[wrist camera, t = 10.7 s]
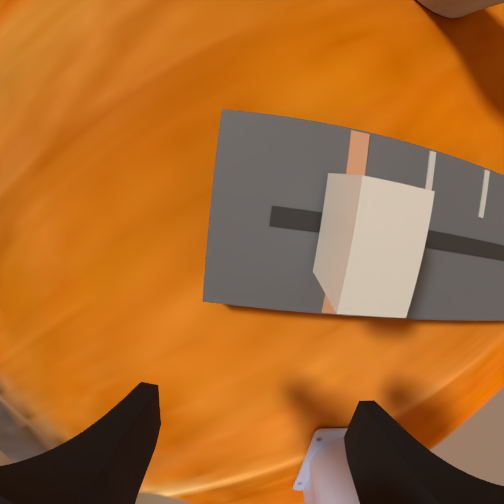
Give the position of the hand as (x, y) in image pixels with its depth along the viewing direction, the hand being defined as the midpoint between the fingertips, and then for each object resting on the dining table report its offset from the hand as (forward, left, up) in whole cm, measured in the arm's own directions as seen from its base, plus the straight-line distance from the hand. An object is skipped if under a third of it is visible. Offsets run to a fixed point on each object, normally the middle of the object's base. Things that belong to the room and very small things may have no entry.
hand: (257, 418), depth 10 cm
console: (+6, -10, -9) cm, 15 cm away
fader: (+6, -4, -7) cm, 10 cm away
